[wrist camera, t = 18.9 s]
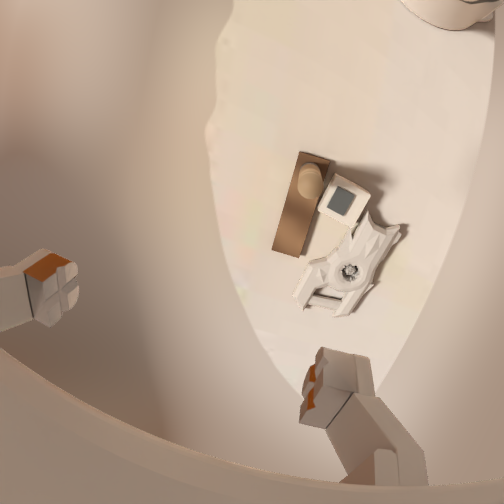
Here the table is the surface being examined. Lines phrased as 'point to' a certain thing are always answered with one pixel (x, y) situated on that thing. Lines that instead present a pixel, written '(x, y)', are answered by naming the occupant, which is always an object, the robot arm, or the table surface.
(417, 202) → the table surface
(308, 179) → the tan rounded rod
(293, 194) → the bar
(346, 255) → the gun
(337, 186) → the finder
